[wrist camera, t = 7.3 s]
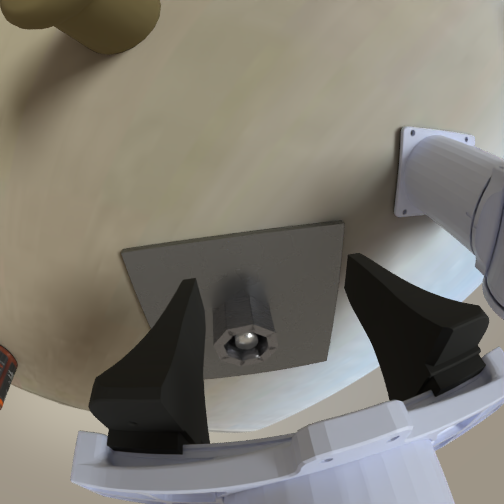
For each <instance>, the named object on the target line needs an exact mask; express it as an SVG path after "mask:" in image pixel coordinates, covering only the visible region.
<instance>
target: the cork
mask: <svg viewBox="0 0 504 504" xmlns="http://www.w3.org/2000/svg"><path fill="white" fill-rule="evenodd" d="M0 7H1V10H2V13H3V15H4V16H5V18H6V20H7V21H8V22H10V23H11V24H13V25H15V26H17V27H19V28H22V29H44V28H49V27H52V26H54V27H56V28H58V29H59V30H61V31H62V32H64V33H66V34H67V35H69V36H70V37H72V38H74V39H75V40H77V41H78V42H80V43H81V44H83V45H84V46H86V47H87V48H89V49H91V50H93V51H94V52H96V53H100V54H107V55H109V54H115V53H121V52H123V51H126V50H128V49H130V48H133V47H134V46H136V45H137V44H138V43H140V42H141V41H142V40H144V39H145V38H146V37H147V36H148V34H149V33H150V32H151V31H152V30H153V29H154V27H155V25H156V23H157V21H158V18H159V16H160V8H161V4H160V0H0Z"/></svg>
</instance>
